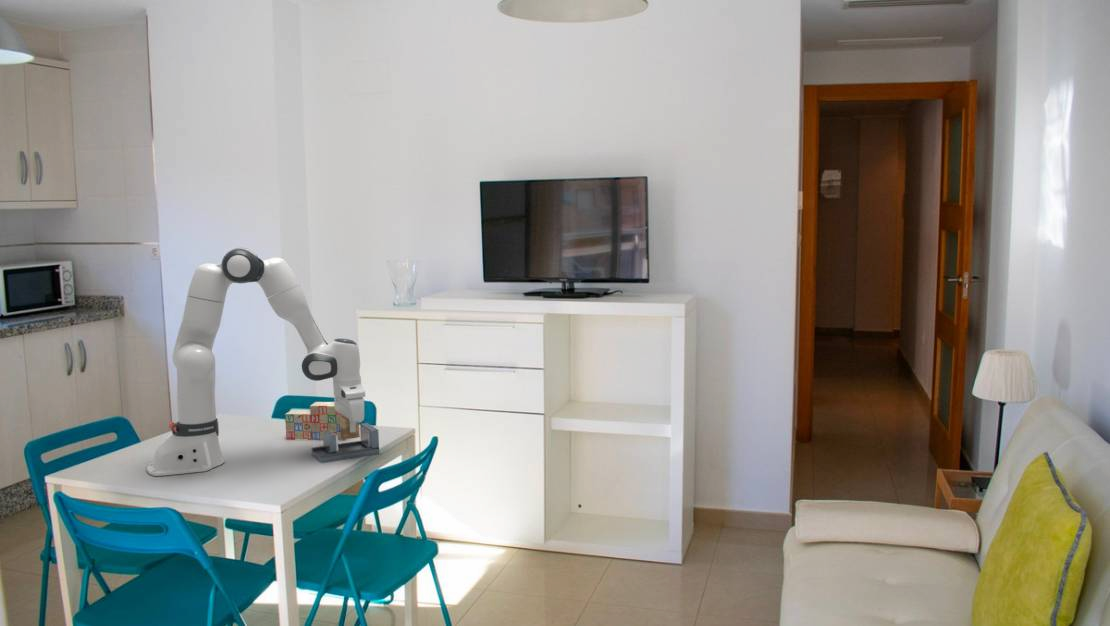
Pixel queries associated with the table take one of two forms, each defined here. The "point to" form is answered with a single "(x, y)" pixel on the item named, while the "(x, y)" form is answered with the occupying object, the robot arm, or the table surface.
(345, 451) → the vise base
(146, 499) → the table surface
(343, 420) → the oak block
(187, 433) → the robot arm
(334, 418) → the stack of blocks
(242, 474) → the table surface
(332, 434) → the sliding jaw
